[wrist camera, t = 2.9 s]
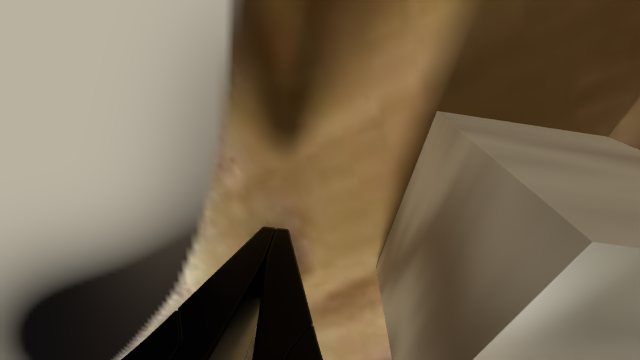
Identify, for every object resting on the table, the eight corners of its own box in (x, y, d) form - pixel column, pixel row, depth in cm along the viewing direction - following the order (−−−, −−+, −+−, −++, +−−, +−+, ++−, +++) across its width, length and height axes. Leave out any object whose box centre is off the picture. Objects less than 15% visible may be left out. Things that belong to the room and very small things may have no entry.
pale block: (489, 280, 13) (592, 447, 8) (375, 265, 13) (404, 427, 8) (605, 135, 9) (994, 296, 4) (435, 110, 8) (592, 242, 3)
